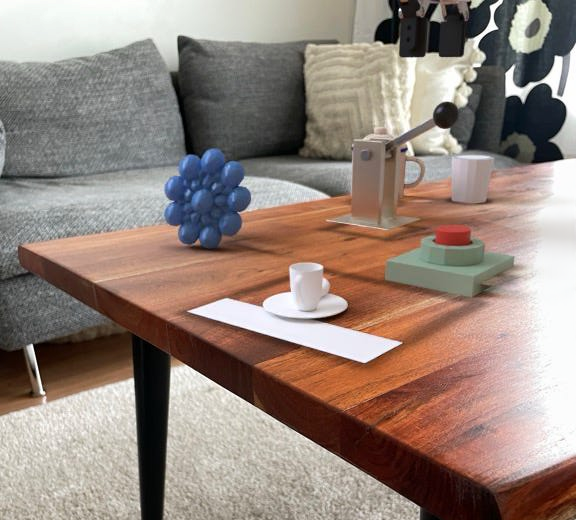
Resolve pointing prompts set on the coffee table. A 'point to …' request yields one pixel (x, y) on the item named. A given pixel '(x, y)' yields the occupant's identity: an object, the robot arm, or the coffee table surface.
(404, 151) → the teacup with lid
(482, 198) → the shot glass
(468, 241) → the button
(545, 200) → the coffee table surface
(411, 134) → the switch lever
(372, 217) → the switch bracket
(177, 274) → the coffee table surface
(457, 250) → the green button base
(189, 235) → the blue beaded flower wheel
